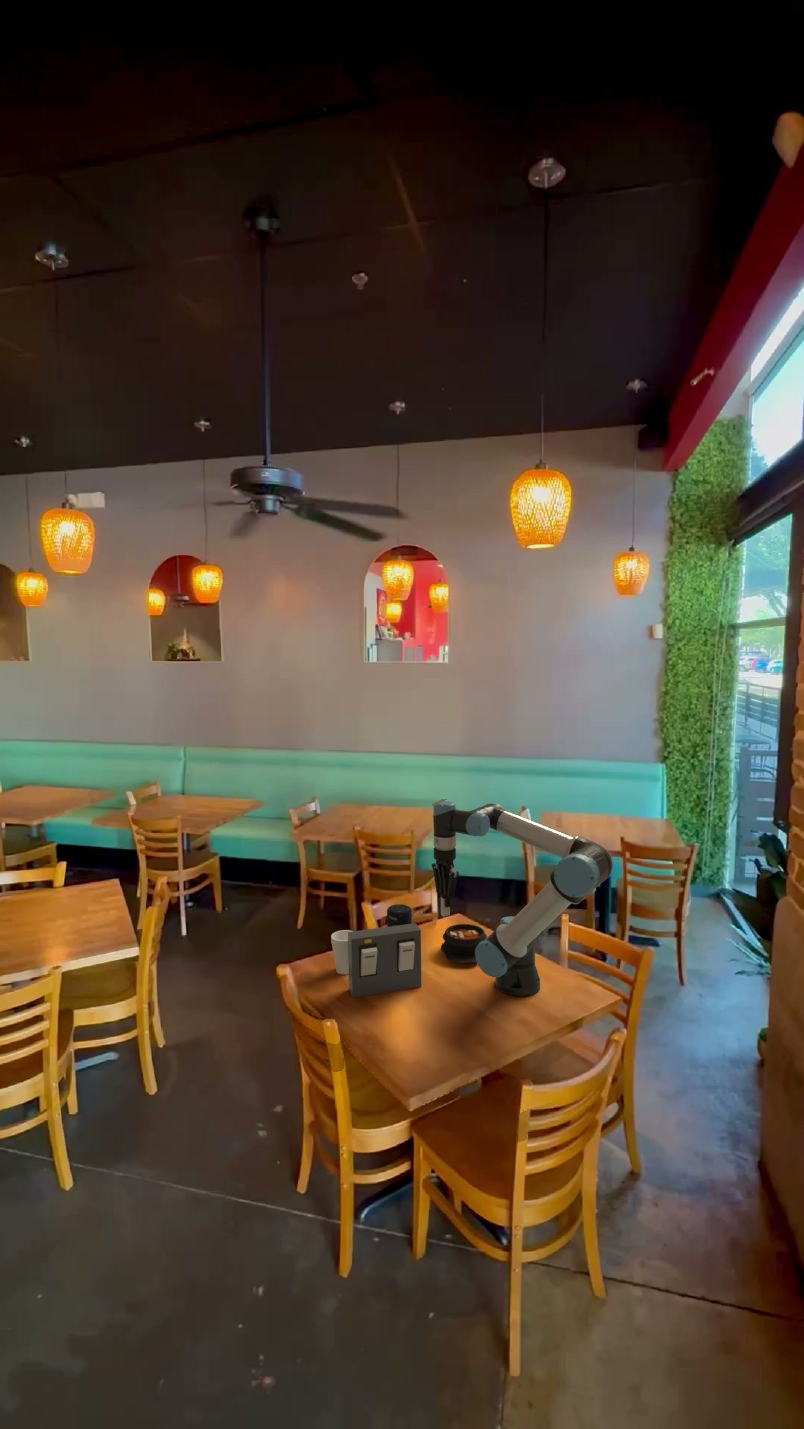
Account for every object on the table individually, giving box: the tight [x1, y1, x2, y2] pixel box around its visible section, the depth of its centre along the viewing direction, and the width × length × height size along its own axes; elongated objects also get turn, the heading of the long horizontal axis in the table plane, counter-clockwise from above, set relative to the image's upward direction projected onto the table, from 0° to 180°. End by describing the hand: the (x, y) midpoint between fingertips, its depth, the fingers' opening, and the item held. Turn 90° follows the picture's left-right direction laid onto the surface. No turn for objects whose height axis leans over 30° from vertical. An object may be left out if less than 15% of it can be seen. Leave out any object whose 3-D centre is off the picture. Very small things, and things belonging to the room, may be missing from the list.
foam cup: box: [330, 929, 354, 975], centre depth 230 cm, size 10×9×13 cm
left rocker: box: [360, 947, 377, 976], centre depth 211 cm, size 2×5×10 cm, turn 106°
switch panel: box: [348, 922, 422, 999], centre depth 221 cm, size 16×24×20 cm, turn 106°
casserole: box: [440, 923, 488, 964], centre depth 244 cm, size 25×19×8 cm
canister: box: [386, 903, 413, 927], centre depth 246 cm, size 10×10×18 cm
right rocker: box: [398, 941, 415, 971], centre depth 215 cm, size 2×5×10 cm, turn 106°
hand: (445, 915), depth 218 cm, fingers closed
